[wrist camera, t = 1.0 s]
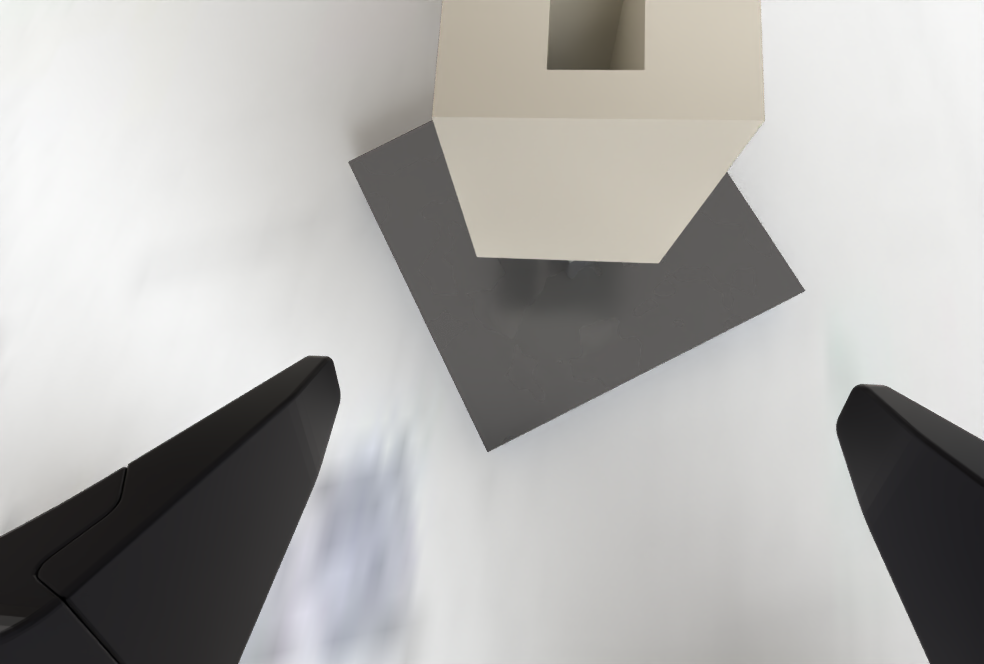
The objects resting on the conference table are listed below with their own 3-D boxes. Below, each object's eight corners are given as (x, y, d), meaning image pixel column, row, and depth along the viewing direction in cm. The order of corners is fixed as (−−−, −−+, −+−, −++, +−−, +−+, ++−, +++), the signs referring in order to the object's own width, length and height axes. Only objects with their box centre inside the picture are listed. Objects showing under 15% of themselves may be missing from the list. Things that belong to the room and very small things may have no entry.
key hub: (781, 303, 22) (869, 257, 17) (491, 450, 22) (476, 456, 16) (621, 54, 25) (648, -60, 19) (362, 183, 25) (310, 106, 19)
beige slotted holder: (658, 263, 17) (765, 118, 9) (476, 257, 18) (430, 114, 10) (659, 98, 18) (755, -157, 10) (488, 97, 19) (455, -147, 11)
